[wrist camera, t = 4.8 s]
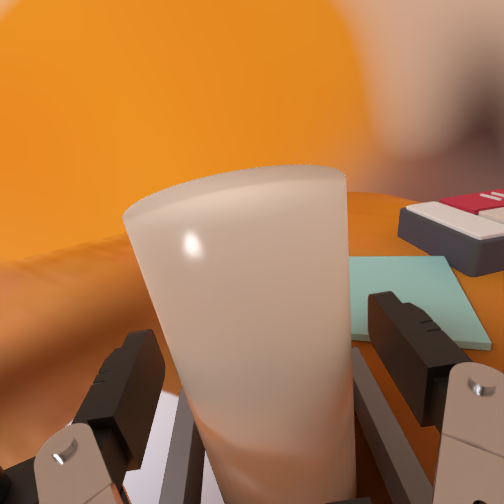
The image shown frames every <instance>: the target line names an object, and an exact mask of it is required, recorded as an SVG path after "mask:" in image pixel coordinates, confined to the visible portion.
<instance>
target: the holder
mask: <svg viewBox="0 0 504 504" xmlns="http://www.w3.org/2000/svg"><path fill="white" fill-rule="evenodd" d="M352 369H353V398H354V410H355V413H356V415H357V418H358V420H359V422H360V425H361V427H362V430H363V432H364V435H365V437H366V440H367V442H368V445H369V447H370V449H371V452H372V454H373V457H374V459H375V462H376V464H377V467H378V469H379V471H380V474H381V476H382V479H383V481H384V484H385V486H386V489H387V491H388V493H389V496H390V498H391V501H392V503H393V504H431V498H432V491H433V487H432V485H431V483H430V481H429V479H428V478H427V476H426V474H425V472H424V470H423V468H422V466H421V464H420V463H419V461H418V459H417V457H416V455H415V453H414V451H413V449H412V448H411V446H410V444H409V442H408V440H407V438H406V436H405V434H404V433H403V431H402V429H401V427H400V425H399V423H398V421H397V419H396V418H395V416H394V414H393V412H392V410H391V408H390V406H389V404H388V403H387V401H386V399H385V397H384V395H383V393H382V391H381V390H380V388H379V386H378V384H377V382H376V380H375V378H374V376H373V375H372V373H371V371H370V369H369V367H368V365H367V363H366V361H365V360H364V358H363V356H362V354H361V352H360V350H359V348H358V347H352ZM204 456H205V448H204V445H203V442H202V439H201V436H200V434H199V431H198V428H197V425H196V423H195V420H194V417H193V414H192V411H191V409H190V406H189V403H188V400H187V398H186V395H185V392H184V389H183V386H182V385H181V391H180V396H179V402H178V407H177V411H176V417H175V423H174V427H173V432H172V438H171V443H170V448H169V453H168V458H167V463H166V469H165V474H164V479H163V484H162V489H161V495H160V500H159V504H201V491H202V480H203V467H204Z"/></svg>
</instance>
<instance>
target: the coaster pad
mask: <svg viewBox="0 0 504 504" xmlns="http://www.w3.org/2000/svg"><path fill="white" fill-rule="evenodd" d="M349 281H350V311H351V340H356V341H369V342H371V341H370V338H369V334H368V295H369V294H373V293H379V292H385V291H392V292H393V293H394V294H395V295H396V296H397V297H398V299H399V300H400V301H401V302H402V303H407V302H410V303H412V304H414V305H415V306H417V307H419V308H421V309H423V310H424V311H425V312H426V313H427V314H428V315H429V316H430V317H431V318H432V319H433V322H436V324H437V325H438V326H439V327H440V328H441V330H443V331H444V332H445V333H446V334H447V335H448V336H449V337H450V338H451V339H452V340H453V341H454V342H455V343H456V344H457V345H458V346H459V347H460V348H462V349H476V350H489V351H490V350H491V345H492V343H491V341H490V339H489V337H488V335H487V333H486V332H485V330H484V328H483V326H482V324H481V322H480V321H479V319H478V317H477V315H476V313H475V312H474V310H473V308H472V306H471V304H470V302H469V301H468V299H467V297H466V295H465V293H464V291H463V290H462V288H461V286H460V284H459V282H458V281H457V279H456V277H455V275H454V273H453V271H452V270H451V268H450V266H449V264H448V262H447V260H446V259H445V257H444V256H375V257H349Z"/></svg>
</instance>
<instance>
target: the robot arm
mask: <svg viewBox="0 0 504 504" xmlns="http://www.w3.org/2000/svg"><path fill="white" fill-rule="evenodd" d="M368 334H369V338H370V341H371V343H372V345H373V347H374V349H375V350H376V352H377V354H378V355H379V357H380V359H381V360H382V362H383V364H384V365H385V367H386V369H387V370H388V372H389V374H390V375H391V377H392V379H393V381H394V382H395V384H396V386H397V387H398V389H399V391H400V392H401V394H402V396H403V397H404V399H405V401H406V402H407V404H408V406H409V407H410V409H411V411H412V412H413V414H414V416H415V417H416V419H417V421H418V422H419V424H420V426H421V427H426V426H432V425H435V426H436V428H437V429H438V431H439V432H440V440H439V447H438V454H437V462H436V469H435V476H434V484H433V491H432V498H431V504H504V374H503V373H501V372H500V371H498V370H496V369H494V368H492V367H490V366H487V365H484V364H480V363H474V362H473V361H472V360H471V359H470V358H469V357H468V356H467V355H466V354H465V353H464V352H463V351H462V350H461V348H460V347H459V346H458V345H457V344H456V343H455V342H454V341H453V340H452V339H451V338H450V337H449V336H448V335H447V334H446V333H445V332H444V331H443V330H441V328H440V327H439V326H438V325H437V324H436V322H433V319H432V318H431V317H430V316H429V315H428V314H427V313H426V312H425V311H424V310H423V309H421V308H419V307H417V306H415V305H414V304H412V303H410V302H407V303H402V302H401V301H400V300H399V299H398V297H397V296H396V295H395V294H394V293H393V292H392V291H385V292H379V293H373V294H369V295H368ZM98 373H99V375H97V376H96V378H95V380H94V382H93V385H92V386H91V388H90V389H89V391H88V393H87V395H86V397H85V399H84V401H83V403H82V405H81V407H80V408H79V410H78V412H77V414H76V416H75V418H74V420H73V422H72V424H71V425H69V426H67V427H65V428H63V429H61V430H59V431H58V432H56V433H55V434H54V435H53V436H51V437H50V438H49V439H48V440H47V441H46V442H45V443H44V444H43V446H42V447H41V448H40V450H39V452H38V453H37V455H36V456H35V457H33V458H31V459H28V460H26V461H24V462H22V463H19V464H17V465H15V466H12V467H10V468H8V469H6V470H3V469H2V468H1V466H0V504H131V502H130V499H129V497H128V495H127V492H126V490H125V487H124V486H123V480H124V477H125V474H126V471H131V470H138V469H140V468H141V465H142V461H143V457H144V453H145V449H146V445H147V442H148V438H149V434H150V431H151V426H152V423H153V419H154V415H155V411H156V408H157V404H158V400H159V397H160V393H161V389H162V385H163V382H164V378H165V363H164V359H163V356H162V354H161V351H160V348H159V345H158V343H157V340H156V337H155V335H154V332H153V331H152V330H151V329H147V330H141V331H135V332H130V333H129V334H128V335H127V337H126V339H125V341H124V343H123V346H122V348H117V349H115V350H114V351H113V352H112V353H111V354H110V355H109V356H108V357H107V358H106V360H105V361H104V363H103V365H102V367H101V369H100V370H99V372H98ZM326 504H372V502H371V499H370V497H364V498H357V499H350V500H344V501H337V502H330V503H326Z"/></svg>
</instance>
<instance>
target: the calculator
mask: <svg viewBox="0 0 504 504" xmlns="http://www.w3.org/2000/svg"><path fill="white" fill-rule="evenodd" d="M398 237H400V238H402V239H403V240H405V241H407V242H409V243H411V244H412V245H414V246H416V247H418V248H419V249H421V250H423V251H425V252H426V253H428V254H430V255H432V256H444V257H445V259H446V260H447V262H448V264H449V266H451V267H453V268H454V269H456V270H458V271H460V272H461V273H463V274H465V275H467V276H469V277H478V276H482V275H486V274H490V273H495V272H499V271H503V270H504V189H499V190H493V191H487V192H481V193H474V194H468V195H461V196H455V197H448V198H442V199H440V202H427V203H421V204H414V205H408V206H406V208H401V209H400V216H399V226H398Z"/></svg>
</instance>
